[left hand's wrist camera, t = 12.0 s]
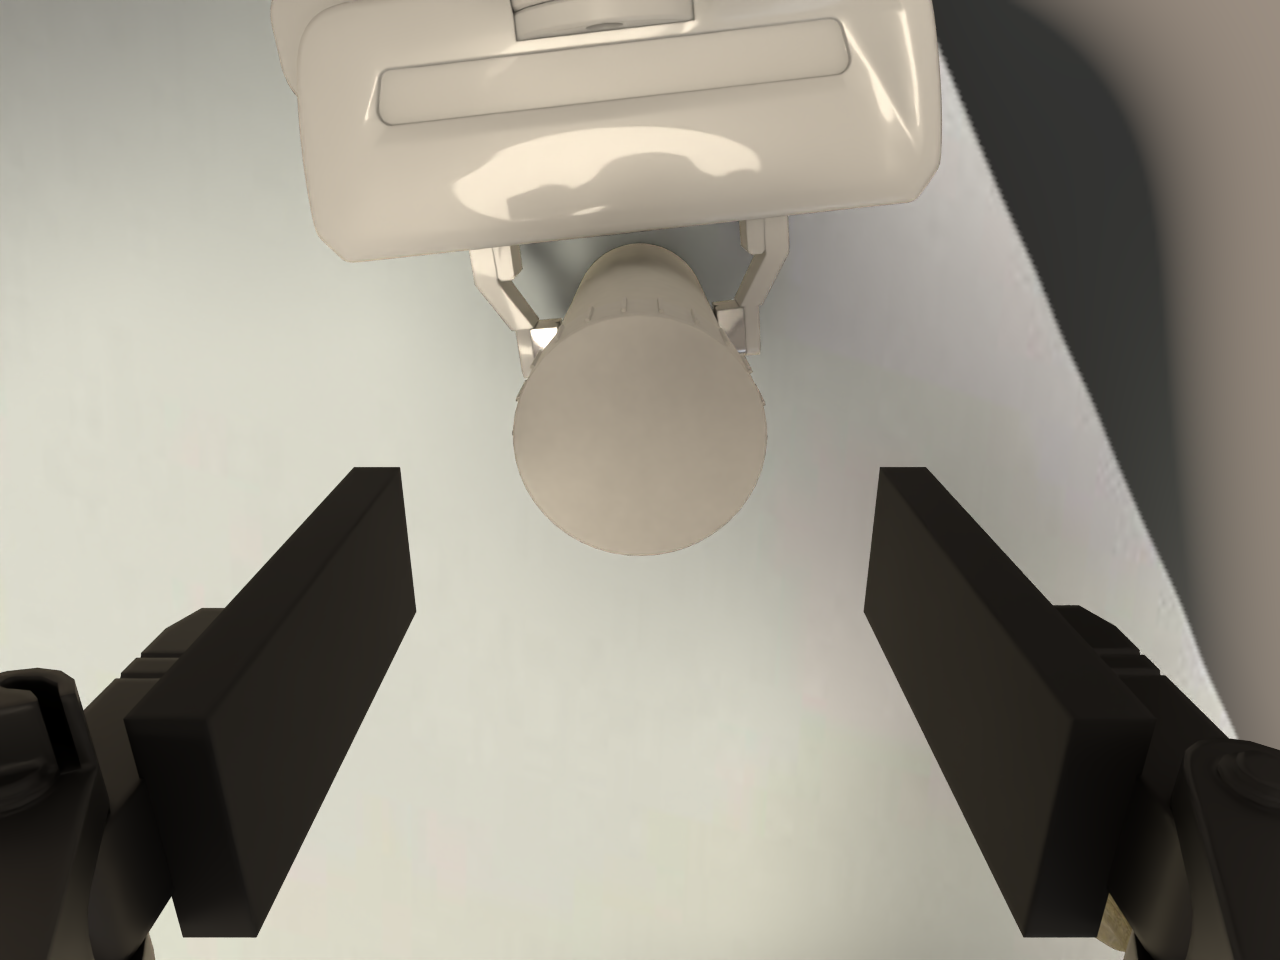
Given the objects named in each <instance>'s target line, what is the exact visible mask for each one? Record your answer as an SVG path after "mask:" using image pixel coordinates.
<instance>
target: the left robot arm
mask: <svg viewBox="0 0 1280 960" xmlns="http://www.w3.org/2000/svg"><path fill="white" fill-rule="evenodd" d="M415 613H416V605H415V596H414V587H413V578H412V569H411V561H410V552H409V543H408V534H407V525H406V516H405V507H404V498H403V489H402V481H401V472H400V467H354V468H353V469H352V470H351V471H350V472H349V473H348V474H347V476H346V477H345V478H344V479H343V480H342V481H341V482H340V483H339V484H338V485H337V486H336V488H335V489H334V490H333V491H332V492H331V493H330V494H329V495H328V496H327V497H326V498H325V500H324V501H323V502H322V503H321V504H320V505H319V506H318V507H317V508H316V509H315V510H314V511H313V513H312V514H311V515H310V516H309V517H308V518H307V519H306V520H305V521H304V522H303V523H302V525H301V526H300V527H299V528H298V529H297V530H296V531H295V532H294V533H293V534H292V535H291V537H290V538H289V539H288V540H287V541H286V542H285V543H284V544H283V545H282V546H281V547H280V549H279V550H278V551H277V552H276V553H275V554H274V555H273V556H272V557H271V558H270V559H269V561H268V562H267V563H266V564H265V565H264V566H263V567H262V568H261V569H260V570H259V571H258V573H257V574H256V575H255V576H254V577H253V578H252V579H251V580H250V581H249V582H248V583H247V585H246V586H245V587H244V588H243V589H242V590H241V591H240V592H239V593H238V594H237V595H236V597H235V598H234V599H233V600H232V601H231V602H230V603H229V604H228V605H227V606H226V607H225V608H201V609H199V610H198V611H196V612H194V613H192V614H191V615H189V616H187V617H185V618H183V619H182V620H180V621H178V622H176V623H175V624H173V625H171V626H169V627H168V628H166V629H165V630H164V631H163V632H162V633H161V634H160V635H159V636H158V637H157V638H156V639H155V640H154V641H153V642H152V643H151V644H150V645H149V646H148V647H147V648H146V649H145V650H144V651H143V652H142V653H141V658H136V659H135V660H134V661H133V662H132V663H131V664H130V665H129V666H128V667H127V668H126V669H125V670H124V671H123V672H122V673H121V677H120V678H116V679H115V680H114V681H113V682H112V683H111V684H110V685H109V686H108V687H107V688H106V689H105V690H104V691H103V692H102V693H101V694H100V695H98V696H97V697H96V698H95V699H94V700H93V701H92V702H91V703H90V704H89V705H88V706H87V707H86V708H85V709H84V710H83V708H82V704H81V701H80V697H79V694H78V691H77V687H76V684H75V680H74V679H73V678H71V677H70V676H68V675H67V674H65V673H64V672H62V671H59V670H51V669H43V668H32V669H22V670H13V671H6V672H2V673H0V960H155V955H154V949H153V945H152V942H151V938H150V935H149V931H150V929H151V928H152V926H153V925H154V923H155V921H156V920H157V918H158V917H159V915H160V913H161V912H162V910H163V909H164V907H165V906H166V904H167V902H168V901H169V899H170V898H171V896H172V899H173V903H174V906H175V910H176V914H177V917H178V921H179V924H180V928H181V932H182V935H183V937H257V935H258V933H259V931H260V929H261V927H262V925H263V923H264V921H265V919H266V917H267V915H268V913H269V911H270V909H271V907H272V905H273V903H274V901H275V899H276V896H277V894H278V892H279V890H280V888H281V886H282V884H283V882H284V880H285V878H286V876H287V874H288V872H289V870H290V868H291V866H292V864H293V862H294V860H295V858H296V856H297V854H298V852H299V850H300V848H301V846H302V843H303V841H304V839H305V837H306V835H307V833H308V831H309V829H310V827H311V825H312V823H313V821H314V819H315V817H316V815H317V813H318V811H319V809H320V807H321V805H322V803H323V801H324V799H325V797H326V795H327V793H328V790H329V788H330V786H331V784H332V782H333V780H334V778H335V776H336V774H337V772H338V770H339V768H340V766H341V764H342V762H343V760H344V758H345V756H346V754H347V752H348V750H349V748H350V746H351V744H352V742H353V740H354V738H355V735H356V733H357V731H358V729H359V727H360V725H361V723H362V721H363V719H364V717H365V715H366V713H367V711H368V709H369V707H370V705H371V703H372V701H373V699H374V697H375V695H376V693H377V691H378V689H379V687H380V685H381V682H382V680H383V678H384V676H385V674H386V672H387V670H388V668H389V666H390V664H391V662H392V660H393V658H394V656H395V654H396V652H397V650H398V648H399V646H400V644H401V642H402V640H403V638H404V636H405V634H406V632H407V629H408V627H409V625H410V623H411V621H412V619H413V617H414V615H415ZM864 613H865V615H866V617H867V619H868V621H869V623H870V625H871V627H872V629H873V632H874V634H875V636H876V638H877V640H878V642H879V644H880V646H881V648H882V650H883V652H884V654H885V656H886V658H887V660H888V662H889V664H890V666H891V668H892V670H893V672H894V674H895V676H896V678H897V680H898V682H899V685H900V687H901V689H902V691H903V693H904V695H905V697H906V699H907V701H908V703H909V705H910V707H911V709H912V711H913V713H914V715H915V717H916V719H917V721H918V723H919V725H920V727H921V729H922V731H923V733H924V735H925V738H926V740H927V742H928V744H929V746H930V748H931V750H932V752H933V754H934V756H935V758H936V760H937V762H938V764H939V766H940V768H941V770H942V772H943V774H944V776H945V778H946V780H947V782H948V784H949V786H950V788H951V790H952V793H953V795H954V797H955V799H956V801H957V803H958V805H959V807H960V809H961V811H962V813H963V815H964V817H965V819H966V821H967V823H968V825H969V827H970V829H971V831H972V833H973V835H974V837H975V839H976V841H977V843H978V846H979V848H980V850H981V852H982V854H983V856H984V858H985V860H986V862H987V864H988V866H989V868H990V870H991V872H992V874H993V876H994V878H995V880H996V882H997V884H998V886H999V888H1000V890H1001V892H1002V894H1003V896H1004V899H1005V901H1006V903H1007V905H1008V907H1009V909H1010V911H1011V913H1012V915H1013V917H1014V919H1015V921H1016V923H1017V925H1018V927H1019V929H1020V931H1021V933H1022V935H1023V937H1097V935H1098V932H1099V928H1100V924H1101V921H1102V917H1103V914H1104V910H1105V906H1106V903H1107V899H1108V895H1109V893H1110V895H1111V896H1112V898H1113V900H1114V901H1115V903H1116V904H1117V906H1118V907H1119V909H1120V911H1121V912H1122V914H1123V915H1124V917H1125V918H1126V920H1127V922H1128V923H1129V925H1130V926H1131V928H1132V932H1131V935H1130V938H1129V942H1128V945H1127V949H1126V952H1125V955H1124V959H1123V960H1280V750H1277V749H1274V748H1271V747H1267V746H1264V745H1261V744H1258V743H1254V742H1251V741H1245V740H1237V739H1229V738H1228V737H1227V736H1226V735H1225V734H1224V733H1223V732H1222V731H1221V730H1220V729H1219V728H1218V727H1217V726H1216V725H1215V724H1214V723H1213V722H1212V721H1211V720H1210V719H1209V718H1208V717H1207V716H1206V715H1205V714H1204V713H1203V712H1202V711H1201V710H1200V709H1199V708H1198V707H1197V706H1196V705H1195V704H1194V703H1193V702H1192V701H1191V700H1190V699H1189V698H1188V697H1187V696H1186V695H1185V694H1184V693H1183V692H1181V691H1180V690H1179V689H1178V688H1177V687H1176V686H1175V685H1174V684H1173V683H1172V682H1171V681H1170V680H1169V679H1168V678H1167V677H1166V676H1165V675H1160V670H1159V669H1158V668H1157V667H1156V666H1155V665H1154V664H1153V663H1152V662H1151V661H1150V660H1149V659H1148V658H1147V657H1146V656H1145V655H1140V650H1139V649H1138V648H1137V647H1136V646H1135V645H1134V644H1133V643H1132V642H1131V641H1130V640H1129V639H1128V638H1127V637H1126V636H1125V635H1124V634H1123V633H1122V632H1121V631H1120V630H1119V629H1118V628H1117V627H1116V626H1114V625H1113V624H1111V623H1109V622H1107V621H1106V620H1104V619H1102V618H1100V617H1099V616H1097V615H1095V614H1093V613H1091V612H1090V611H1088V610H1086V609H1084V608H1083V607H1081V606H1079V605H1052V604H1051V603H1050V602H1049V601H1048V600H1047V599H1046V598H1045V597H1044V595H1043V594H1042V593H1041V592H1040V591H1039V590H1038V589H1037V588H1036V587H1035V586H1034V585H1033V583H1032V582H1031V581H1030V580H1029V579H1028V578H1027V577H1026V576H1025V575H1024V574H1023V573H1022V571H1021V570H1020V569H1019V568H1018V567H1017V566H1016V565H1015V564H1014V563H1013V562H1012V561H1011V559H1010V558H1009V557H1008V556H1007V555H1006V554H1005V553H1004V552H1003V551H1002V550H1001V549H1000V547H999V546H998V545H997V544H996V543H995V542H994V541H993V540H992V539H991V538H990V537H989V535H988V534H987V533H986V532H985V531H984V530H983V529H982V528H981V527H980V526H979V525H978V523H977V522H976V521H975V520H974V519H973V518H972V517H971V516H970V515H969V514H968V513H967V511H966V510H965V509H964V508H963V507H962V506H961V505H960V504H959V503H958V502H957V501H956V500H955V498H954V497H953V496H952V495H951V494H950V493H949V492H948V491H947V490H946V489H945V488H944V486H943V485H942V484H941V483H940V482H939V481H938V480H937V479H936V478H935V477H934V476H933V474H932V473H931V472H930V471H929V470H928V469H927V468H926V467H880V472H879V481H878V489H877V498H876V507H875V516H874V525H873V534H872V543H871V552H870V561H869V569H868V578H867V587H866V596H865V605H864Z"/></svg>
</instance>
